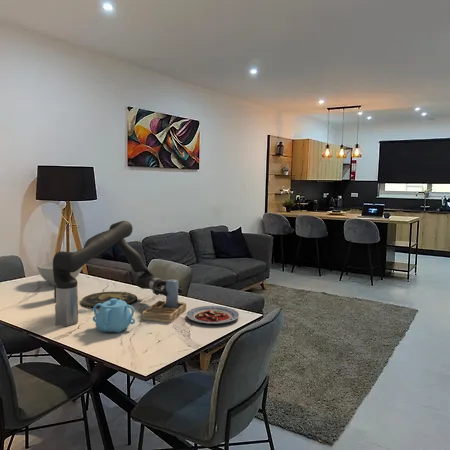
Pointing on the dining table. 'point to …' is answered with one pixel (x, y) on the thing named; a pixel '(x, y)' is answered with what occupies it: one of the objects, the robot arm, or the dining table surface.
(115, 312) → the decorative pot
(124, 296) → the decorative plate
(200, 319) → the ceramic plate
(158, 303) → the wooden compartment tray
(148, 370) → the dining table surface
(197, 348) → the dining table surface
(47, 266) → the decorative bowl
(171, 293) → the pale blue cylinder
